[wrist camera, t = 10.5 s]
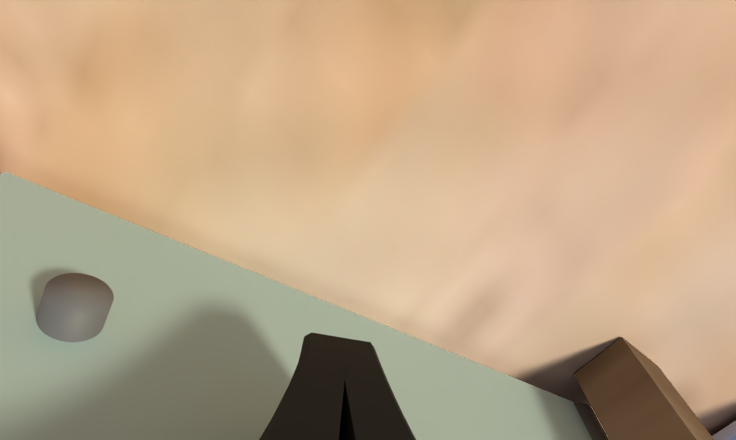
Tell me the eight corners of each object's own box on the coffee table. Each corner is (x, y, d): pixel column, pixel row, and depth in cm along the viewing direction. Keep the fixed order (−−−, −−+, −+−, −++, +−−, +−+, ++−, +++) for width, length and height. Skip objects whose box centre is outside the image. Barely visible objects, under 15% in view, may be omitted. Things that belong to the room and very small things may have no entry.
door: (612, 398, 17) (762, 647, 11) (567, 444, 18) (683, 698, 12) (10, 147, 13) (-314, 326, 7) (-9, 224, 14) (-307, 447, 7)
